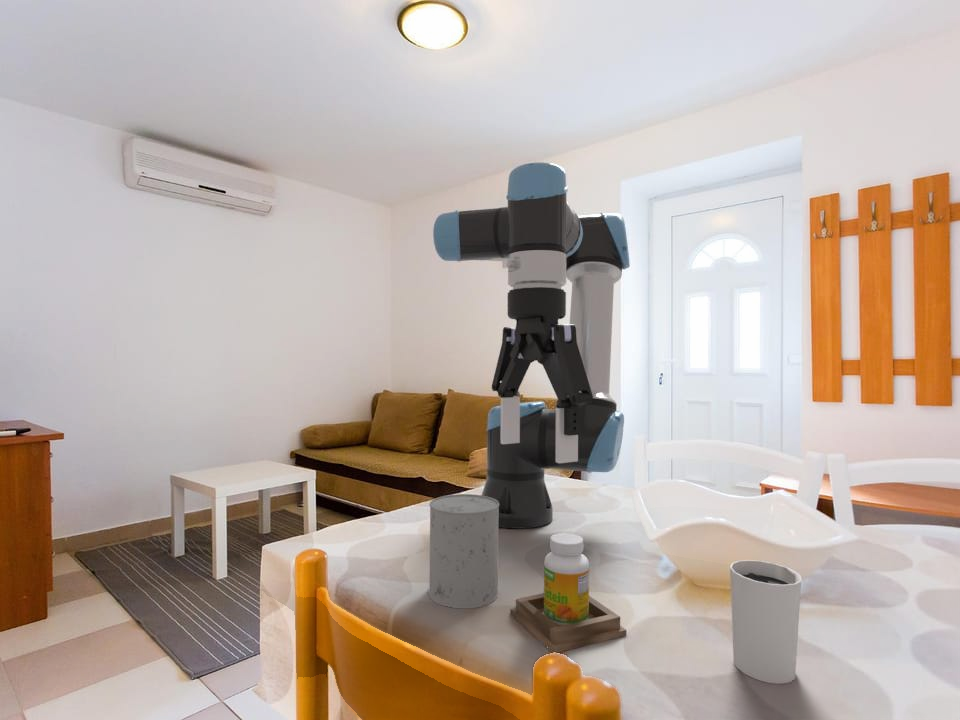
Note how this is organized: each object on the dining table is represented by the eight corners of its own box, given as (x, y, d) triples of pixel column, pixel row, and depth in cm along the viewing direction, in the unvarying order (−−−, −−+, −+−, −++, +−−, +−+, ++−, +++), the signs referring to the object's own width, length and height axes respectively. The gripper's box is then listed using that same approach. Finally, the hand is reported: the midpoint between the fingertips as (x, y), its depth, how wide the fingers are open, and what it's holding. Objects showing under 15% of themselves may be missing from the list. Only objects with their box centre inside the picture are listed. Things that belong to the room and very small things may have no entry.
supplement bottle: (534, 618, 65) (535, 538, 65) (559, 603, 69) (560, 528, 69) (572, 634, 61) (573, 549, 61) (596, 617, 65) (597, 537, 65)
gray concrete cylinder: (419, 584, 76) (420, 497, 76) (481, 574, 80) (482, 491, 80) (442, 614, 67) (443, 516, 67) (510, 601, 71) (511, 508, 71)
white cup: (731, 677, 54) (732, 578, 54) (726, 645, 60) (727, 556, 60) (807, 692, 52) (808, 589, 52) (794, 657, 58) (795, 565, 58)
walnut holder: (576, 599, 71) (576, 584, 71) (626, 635, 62) (626, 617, 62) (510, 613, 67) (510, 597, 67) (553, 653, 58) (553, 635, 58)
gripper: (469, 295, 79) (469, 438, 79) (570, 275, 56) (569, 475, 57) (513, 297, 82) (513, 435, 83) (625, 279, 60) (623, 468, 60)
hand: (535, 452), depth 70 cm, fingers open, 13 cm apart
